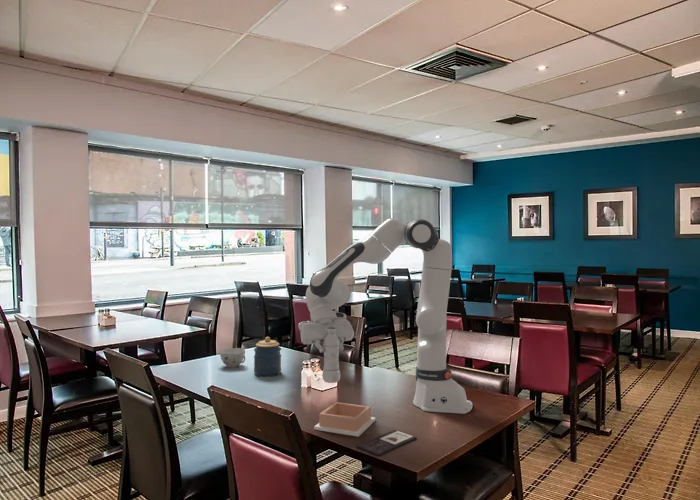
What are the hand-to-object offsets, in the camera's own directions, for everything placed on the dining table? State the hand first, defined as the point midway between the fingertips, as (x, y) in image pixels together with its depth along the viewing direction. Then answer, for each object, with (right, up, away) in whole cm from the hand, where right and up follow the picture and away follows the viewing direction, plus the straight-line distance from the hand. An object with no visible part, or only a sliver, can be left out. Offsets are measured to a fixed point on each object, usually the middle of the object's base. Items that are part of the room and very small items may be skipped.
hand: (332, 350), depth 179 cm
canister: (-33, -23, +56) cm, 69 cm away
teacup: (-52, -22, +69) cm, 90 cm away
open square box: (+5, -23, -11) cm, 26 cm away
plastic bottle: (0, -12, +1) cm, 12 cm away
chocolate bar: (+18, -24, -27) cm, 40 cm away
